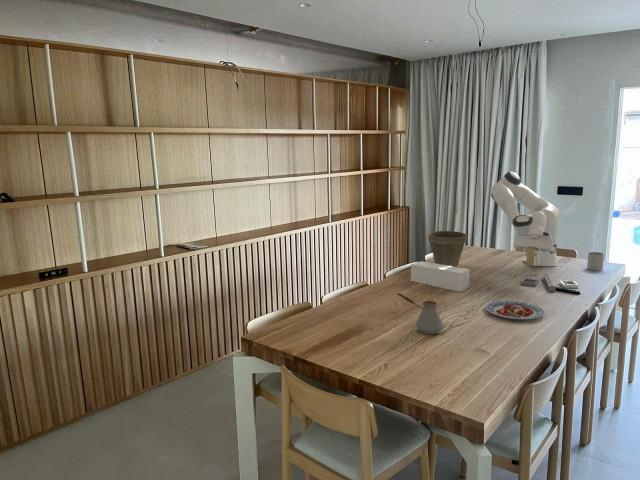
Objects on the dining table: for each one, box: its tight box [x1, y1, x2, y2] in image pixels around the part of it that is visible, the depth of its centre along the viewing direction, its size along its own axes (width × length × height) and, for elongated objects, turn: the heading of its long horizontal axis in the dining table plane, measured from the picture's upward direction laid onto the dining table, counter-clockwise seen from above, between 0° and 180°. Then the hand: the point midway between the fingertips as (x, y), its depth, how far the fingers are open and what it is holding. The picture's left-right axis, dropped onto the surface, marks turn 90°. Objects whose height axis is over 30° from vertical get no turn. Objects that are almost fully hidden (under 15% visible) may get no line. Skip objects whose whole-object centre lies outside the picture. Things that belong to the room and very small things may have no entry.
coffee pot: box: [396, 292, 444, 336], centre depth 204 cm, size 21×12×15 cm, turn 55°
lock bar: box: [525, 246, 536, 267], centre depth 265 cm, size 4×4×10 cm
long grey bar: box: [542, 273, 556, 293], centre depth 265 cm, size 26×3×3 cm, turn 161°
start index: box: [559, 280, 579, 289], centre depth 262 cm, size 8×8×2 cm
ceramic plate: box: [485, 300, 545, 320], centre depth 222 cm, size 26×26×3 cm
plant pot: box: [428, 230, 468, 267], centre depth 314 cm, size 25×25×22 cm
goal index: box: [520, 277, 539, 287], centre depth 268 cm, size 8×8×2 cm
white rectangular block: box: [410, 260, 471, 292], centre depth 272 cm, size 32×11×11 cm, turn 45°
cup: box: [586, 251, 605, 272], centre depth 296 cm, size 8×8×10 cm
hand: (531, 255), depth 265 cm, fingers closed on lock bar, 4 cm apart
